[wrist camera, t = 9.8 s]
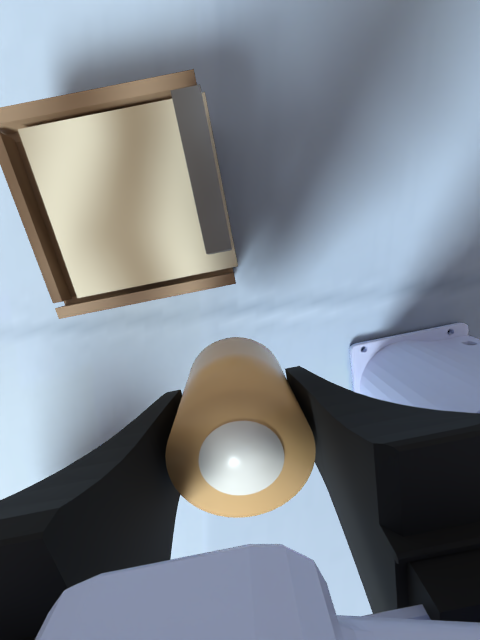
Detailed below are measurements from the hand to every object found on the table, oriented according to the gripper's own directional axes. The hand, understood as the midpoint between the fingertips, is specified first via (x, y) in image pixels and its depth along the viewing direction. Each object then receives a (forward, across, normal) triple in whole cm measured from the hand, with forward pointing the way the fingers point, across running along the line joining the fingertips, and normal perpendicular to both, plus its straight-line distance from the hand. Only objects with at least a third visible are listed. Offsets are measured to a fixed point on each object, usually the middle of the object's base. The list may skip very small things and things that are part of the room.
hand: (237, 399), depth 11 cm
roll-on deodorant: (+2, 0, 0) cm, 2 cm away
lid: (+5, +3, -9) cm, 11 cm away
